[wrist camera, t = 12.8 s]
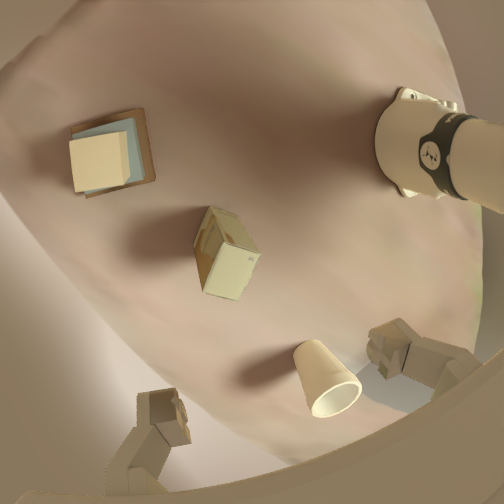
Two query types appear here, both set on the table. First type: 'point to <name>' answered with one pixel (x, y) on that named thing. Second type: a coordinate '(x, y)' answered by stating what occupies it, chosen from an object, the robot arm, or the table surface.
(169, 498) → the robot arm
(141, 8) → the table surface
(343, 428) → the table surface
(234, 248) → the skincare box
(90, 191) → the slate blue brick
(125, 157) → the cream brick
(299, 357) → the foam cup
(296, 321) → the table surface
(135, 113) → the walnut base brick
